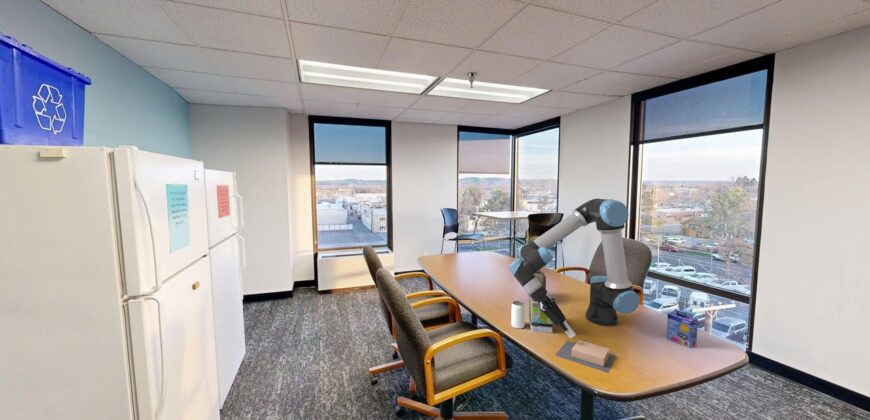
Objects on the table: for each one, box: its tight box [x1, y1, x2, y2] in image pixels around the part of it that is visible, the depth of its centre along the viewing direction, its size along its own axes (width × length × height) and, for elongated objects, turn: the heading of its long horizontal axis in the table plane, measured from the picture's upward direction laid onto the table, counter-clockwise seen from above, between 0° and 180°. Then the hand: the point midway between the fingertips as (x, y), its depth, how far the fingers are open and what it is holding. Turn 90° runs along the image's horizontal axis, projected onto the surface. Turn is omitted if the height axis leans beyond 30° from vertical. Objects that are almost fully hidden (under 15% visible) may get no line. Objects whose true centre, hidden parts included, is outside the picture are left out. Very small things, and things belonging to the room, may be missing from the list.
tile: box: [571, 339, 610, 366], centre depth 134 cm, size 3×10×12 cm
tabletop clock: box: [527, 269, 547, 298], centre depth 196 cm, size 14×9×25 cm, turn 172°
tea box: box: [528, 293, 554, 334], centre depth 162 cm, size 15×10×15 cm
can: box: [510, 300, 526, 330], centre depth 163 cm, size 6×6×12 cm
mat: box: [554, 340, 618, 374], centre depth 135 cm, size 20×16×1 cm
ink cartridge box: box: [666, 310, 699, 349], centre depth 146 cm, size 10×6×14 cm, turn 27°
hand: (572, 336), depth 137 cm, fingers closed
